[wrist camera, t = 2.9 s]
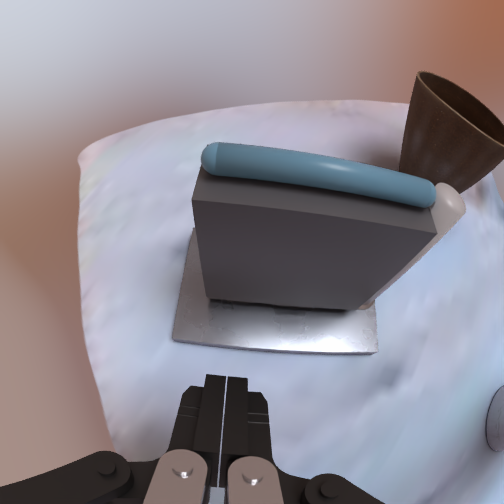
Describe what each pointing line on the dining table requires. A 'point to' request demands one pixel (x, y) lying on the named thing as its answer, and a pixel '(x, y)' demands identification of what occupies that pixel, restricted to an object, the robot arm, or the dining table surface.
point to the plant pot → (449, 135)
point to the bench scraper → (311, 226)
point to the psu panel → (268, 321)
